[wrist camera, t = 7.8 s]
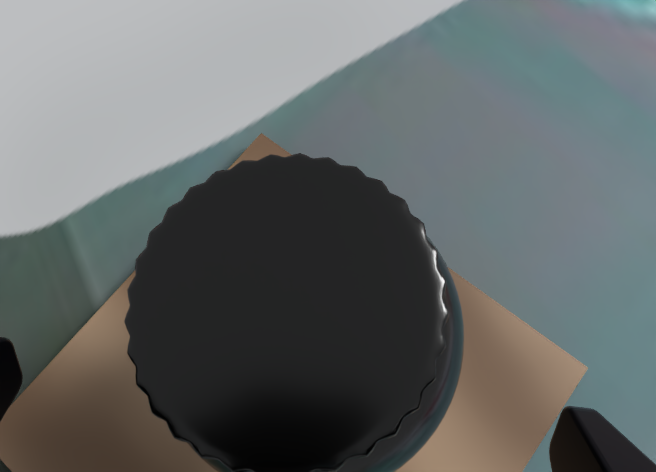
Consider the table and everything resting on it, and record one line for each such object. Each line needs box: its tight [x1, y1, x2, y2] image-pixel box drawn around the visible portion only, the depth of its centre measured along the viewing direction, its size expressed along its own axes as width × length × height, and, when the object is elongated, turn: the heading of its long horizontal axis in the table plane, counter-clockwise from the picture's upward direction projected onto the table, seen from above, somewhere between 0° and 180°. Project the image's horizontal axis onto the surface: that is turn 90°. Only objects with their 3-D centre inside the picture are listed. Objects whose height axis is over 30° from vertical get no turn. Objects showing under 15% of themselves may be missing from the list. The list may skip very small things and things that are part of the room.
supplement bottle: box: [124, 153, 464, 472], centre depth 13 cm, size 7×7×12 cm
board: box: [0, 133, 588, 472], centre depth 18 cm, size 16×16×1 cm
